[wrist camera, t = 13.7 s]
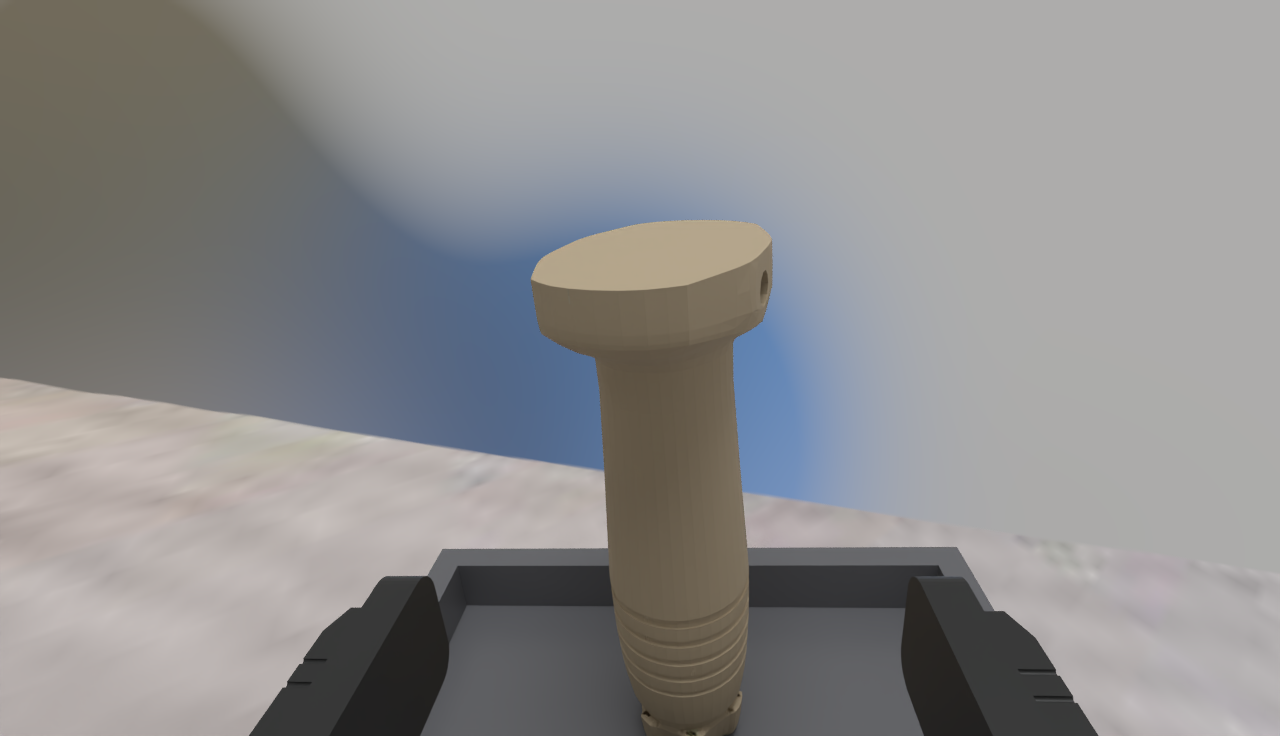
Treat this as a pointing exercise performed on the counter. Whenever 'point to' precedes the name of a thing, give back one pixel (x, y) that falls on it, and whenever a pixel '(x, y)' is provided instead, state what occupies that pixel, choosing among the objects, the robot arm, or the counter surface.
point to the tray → (593, 661)
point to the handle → (669, 447)
